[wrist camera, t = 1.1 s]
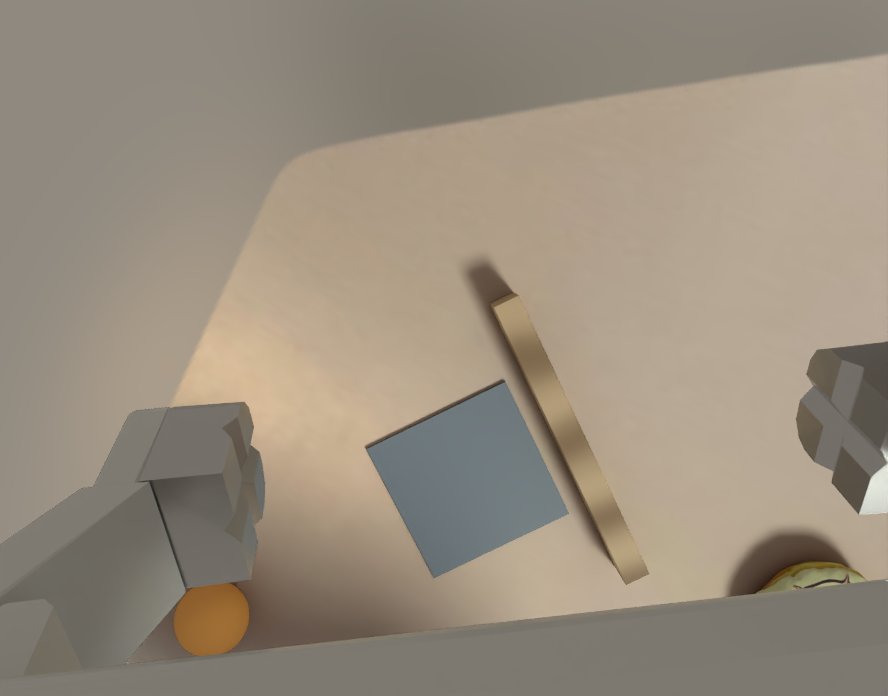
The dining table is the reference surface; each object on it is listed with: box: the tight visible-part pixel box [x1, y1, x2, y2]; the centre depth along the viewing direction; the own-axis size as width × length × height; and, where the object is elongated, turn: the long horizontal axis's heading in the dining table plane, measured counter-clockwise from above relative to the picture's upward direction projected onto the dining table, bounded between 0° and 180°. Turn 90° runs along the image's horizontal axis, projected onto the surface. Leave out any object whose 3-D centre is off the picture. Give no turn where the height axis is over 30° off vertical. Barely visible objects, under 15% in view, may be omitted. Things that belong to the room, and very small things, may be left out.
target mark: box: [366, 382, 569, 578], centre depth 57 cm, size 12×12×1 cm
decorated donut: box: [756, 561, 867, 594], centre depth 58 cm, size 10×11×4 cm
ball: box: [174, 583, 250, 656], centre depth 55 cm, size 6×6×6 cm
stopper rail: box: [490, 292, 649, 585], centre depth 55 cm, size 24×2×3 cm, turn 26°
